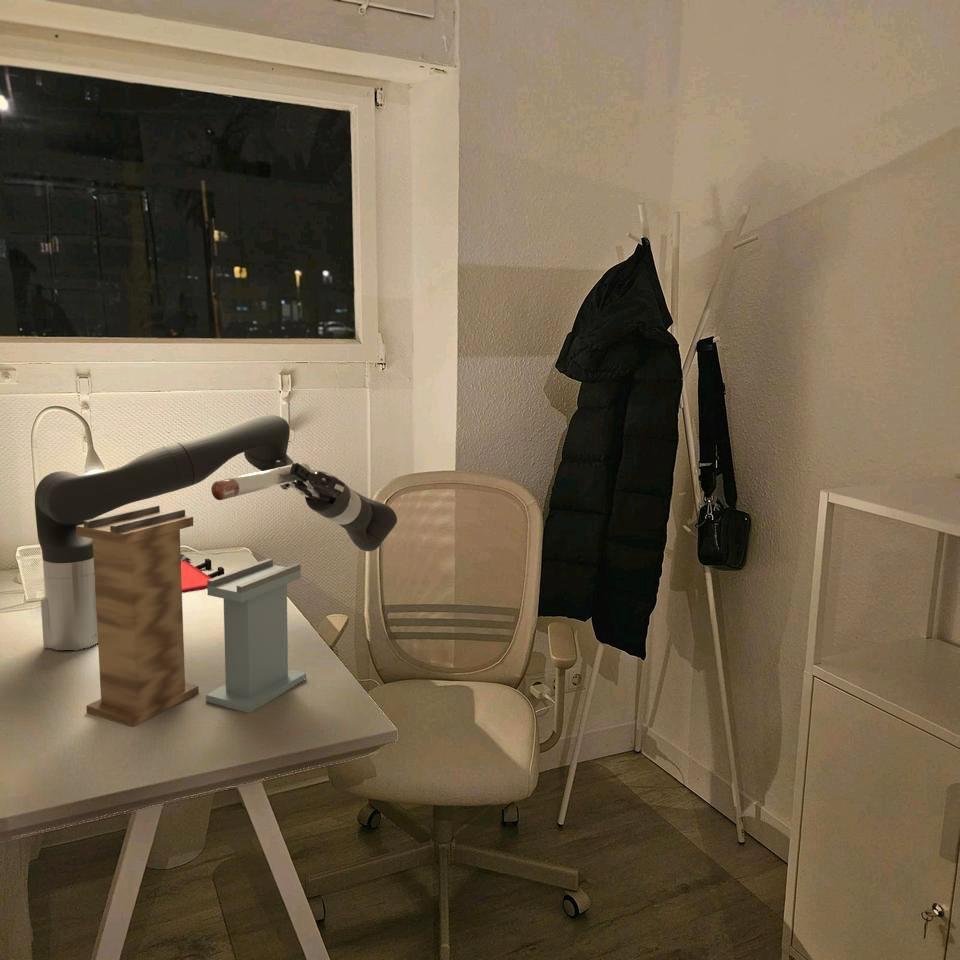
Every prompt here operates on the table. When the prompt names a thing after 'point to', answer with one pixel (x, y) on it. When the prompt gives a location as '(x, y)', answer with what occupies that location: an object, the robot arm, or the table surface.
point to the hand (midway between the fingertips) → (285, 466)
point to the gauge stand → (138, 612)
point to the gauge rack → (255, 635)
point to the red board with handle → (196, 574)
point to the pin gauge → (253, 482)
